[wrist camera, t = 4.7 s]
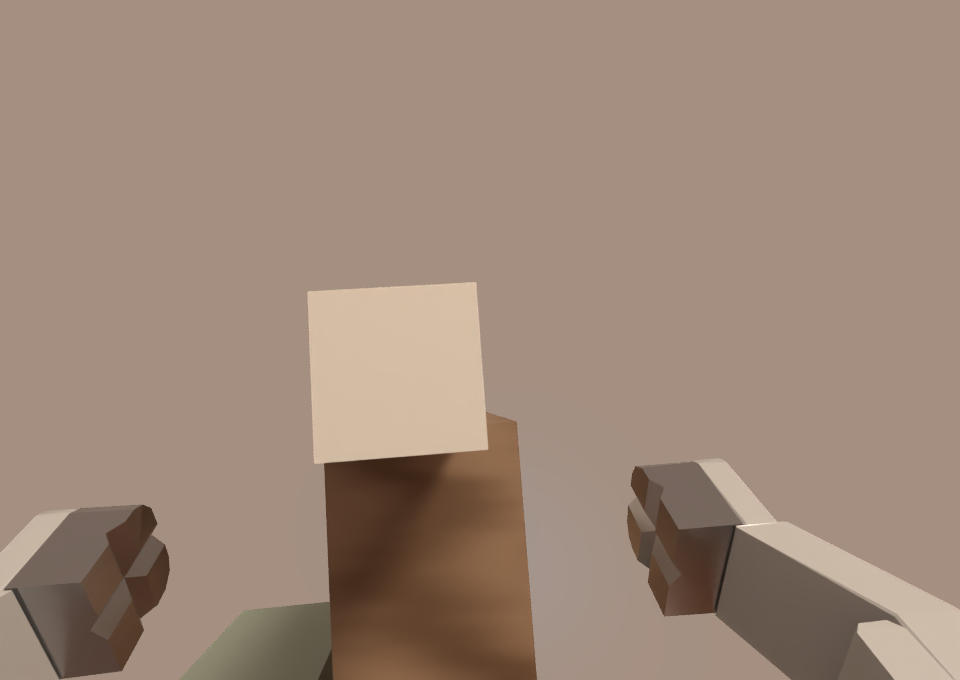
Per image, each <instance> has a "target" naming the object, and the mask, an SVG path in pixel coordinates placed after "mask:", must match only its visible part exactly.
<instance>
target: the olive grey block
mask: <svg viewBox="0 0 960 680" xmlns="http://www.w3.org/2000/svg"><path fill="white" fill-rule="evenodd" d="M179 680H333V667H332V642H331V618H330V602H324V603H314V604H304V605H294V606H285V607H275V608H264V609H254V610H245V611H243V612H242V613H241V614H240V615H239V616H238V617H237V618H236V620H235V621H234V622H233V623H232V624H231V625H230V626H229V627H228V628H227V629H226V630H225V631H224V632H223V633H222V634H221V636H220V637H219V638H218V639H217V640H216V641H215V642H214V643H213V644H212V645H211V646H210V647H209V649H207V650H206V652H205V653H204V654H203V655H202V656H201V657H200V658H199V659H198V660H197V661H196V662H195V663H194V664H193V665H192V667H191V668H190V669H189V670H188V671H187V672H186V673H185V674H184V675H183V676H182V677H181V678H180V679H179Z"/></svg>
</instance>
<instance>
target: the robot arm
mask: <svg viewBox="0 0 960 680" xmlns="http://www.w3.org/2000/svg"><path fill="white" fill-rule="evenodd" d="M631 487H632V488H633V490H634V492H635V494H636V498H635V499H634V500H633V501H632V502H631V503H630V504H629V505H628V516H627V523H628V532H629V538H630V541H631V545H632V548H633V551H634V553H635V555H636V557H637V560H638V561H639V562H641V563H642V564H644V565H645V566H646V567H648V568H649V569H650V571H649V578H648V583H649V585H650V588H651V590H652V592H653V594H654V596H655V598H656V600H657V602H658V604H659V607H660V609H661V611H662V613H663V615H664V616H678V615H692V614H706V613H716V616H717V617H718V618H719V619H720V620H722V621H723V622H724V623H725V624H726V625H727V626H729V627H730V628H731V629H732V630H733V631H734V632H736V633H737V634H738V635H739V636H740V637H742V638H743V639H744V640H745V641H746V642H748V643H749V644H750V645H751V646H752V647H753V648H755V649H756V650H757V651H758V652H759V653H761V654H762V655H763V656H764V657H765V658H766V659H768V660H769V661H770V662H771V663H772V664H773V665H775V666H776V667H777V668H778V669H779V670H781V671H782V672H783V673H784V674H785V675H786V676H788V677H789V678H790V679H791V680H960V609H958V608H956V607H954V606H952V605H950V604H948V603H946V602H944V601H942V600H940V599H938V598H936V597H934V596H932V595H930V594H928V593H926V592H924V591H922V590H920V589H918V588H916V587H915V586H913V585H910V584H909V583H907V582H905V581H903V580H901V579H899V578H897V577H895V576H893V575H891V574H889V573H887V572H885V571H883V570H881V569H879V568H877V567H875V566H873V565H871V564H869V563H867V562H865V561H863V560H861V559H859V558H857V557H855V556H853V555H851V554H849V553H847V552H845V551H844V550H841V549H840V548H838V547H836V546H834V545H832V544H829V543H828V542H826V541H824V540H822V539H820V538H818V537H816V536H814V535H812V534H810V533H808V532H806V531H804V530H802V529H800V528H798V527H796V526H794V525H792V524H790V523H788V522H777V521H776V520H775V519H774V518H773V517H772V515H771V514H770V513H769V512H768V511H767V509H766V508H765V507H764V506H763V505H762V504H761V502H760V501H759V500H758V499H757V498H756V497H755V495H754V494H753V493H752V492H751V491H750V490H749V488H748V487H747V486H746V485H745V484H744V483H743V481H742V480H741V479H740V478H739V477H738V475H737V474H736V473H735V472H734V471H733V469H732V468H731V467H730V466H729V465H728V464H727V462H726V461H724V460H722V459H720V458H715V459H705V460H696V461H691V462H683V463H670V464H658V465H646V466H636V467H635V469H634V471H633V473H632V480H631ZM156 525H157V521H156V519H155V516H154V514H153V512H152V509H151V508H150V507H147V506H144V505H131V506H112V507H96V508H80V509H69V510H68V509H67V510H52V511H46V512H44V513H41V514H39V515H37V516H35V517H34V518H33V519H32V520H31V522H30V523H29V524H28V525H27V526H26V527H25V528H24V529H23V530H22V531H21V532H20V533H19V534H18V535H17V536H16V537H15V538H14V539H13V540H12V541H11V542H10V544H9V545H8V546H7V547H6V548H5V549H4V550H3V551H2V552H1V553H0V680H60V679H65V678H72V677H80V676H88V675H96V674H104V673H112V672H119V671H122V670H123V668H124V666H125V664H126V662H127V661H128V659H129V657H130V655H131V653H132V651H133V650H134V648H135V646H136V644H137V642H138V640H139V638H140V637H141V635H142V633H143V631H144V629H143V626H142V622H141V619H140V618H142V617H143V616H144V615H145V614H146V613H148V612H149V611H150V610H152V609H153V608H154V607H156V606H157V605H158V603H159V601H160V599H161V597H162V595H163V593H164V591H165V589H166V584H167V580H168V575H169V571H170V569H169V556H168V553H167V550H166V547H165V544H163V543H162V542H161V541H159V540H158V539H157V538H155V537H154V536H152V535H151V534H152V533H153V531H154V529H155V527H156Z"/></svg>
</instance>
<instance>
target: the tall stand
mask: <svg viewBox="0 0 960 680" xmlns="http://www.w3.org/2000/svg"><path fill="white" fill-rule="evenodd" d="M486 424H487V438H488V450H479V451H467V452H454V453H442V454H429V455H417V456H405V457H392V458H380V459H368V460H355V461H343V462H330V463H324V469H325V494H326V517H327V518H326V519H327V543H328V568H329V593H330V618H331V642H332V667H333V680H537V676H536V664H535V650H534V637H533V624H532V612H531V599H530V587H529V574H528V561H527V549H526V536H525V523H524V510H523V497H522V484H521V472H520V460H519V446H518V435H517V422H516V421H513V420H510V419H507V418H503V417H500V416H496V415H493V414H490V413H486Z"/></svg>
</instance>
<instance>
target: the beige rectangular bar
mask: <svg viewBox="0 0 960 680" xmlns="http://www.w3.org/2000/svg"><path fill="white" fill-rule="evenodd" d="M308 317H309V343H310V369H311V395H312V421H313V446H314V464H318V463H330V462H343V461H355V460H368V459H380V458H392V457H405V456H417V455H429V454H442V453H454V452H467V451H479V450H488V438H487V424H486V410H485V398H484V397H485V396H484V384H483V369H482V355H481V342H480V329H479V314H478V300H477V287H476V282H471V283H455V284H435V285H419V286H418V285H417V286H401V287H400V286H399V287H382V288H364V289H345V290H327V291H309V292H308Z"/></svg>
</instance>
